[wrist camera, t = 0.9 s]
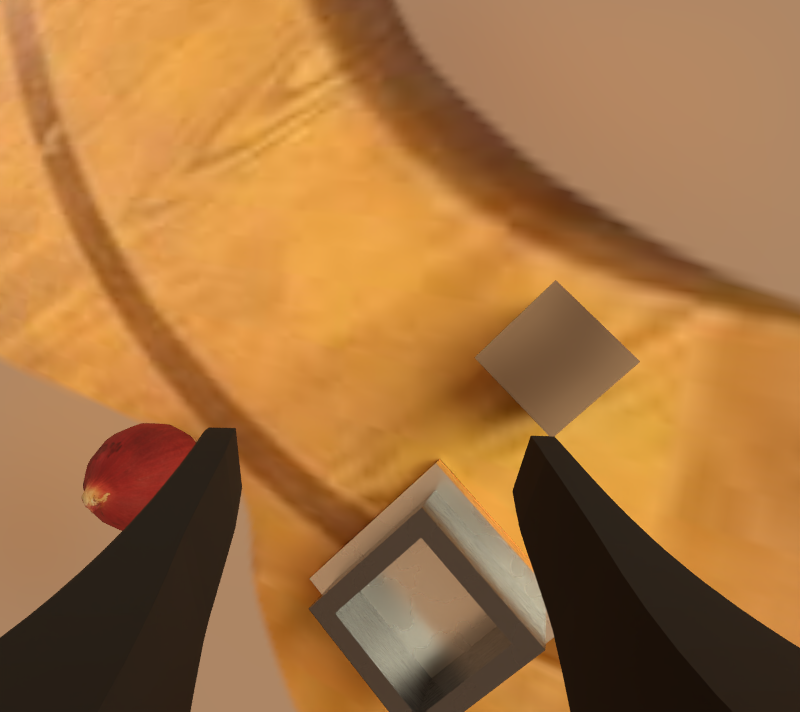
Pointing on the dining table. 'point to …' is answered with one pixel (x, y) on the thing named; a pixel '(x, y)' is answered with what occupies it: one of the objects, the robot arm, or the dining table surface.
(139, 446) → the onion
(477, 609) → the grey square socket
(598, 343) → the rail post
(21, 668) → the robot arm
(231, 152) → the dining table surface
